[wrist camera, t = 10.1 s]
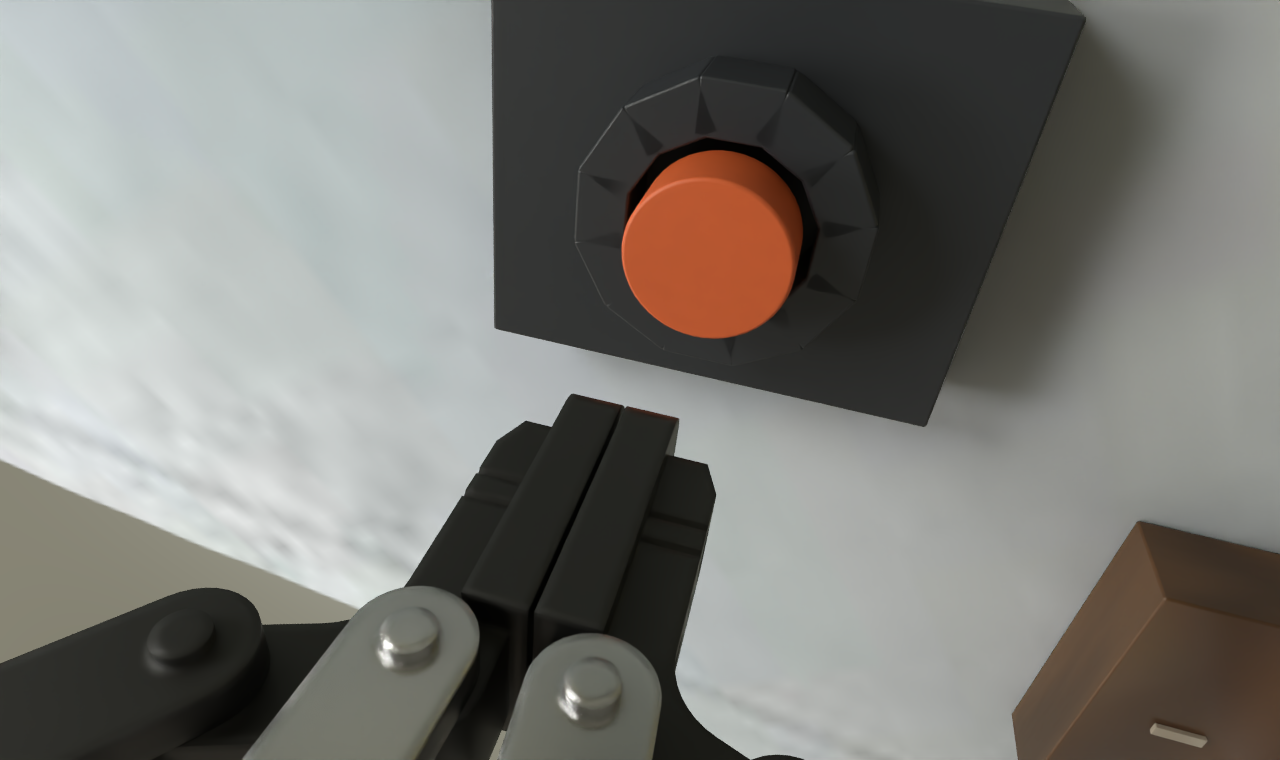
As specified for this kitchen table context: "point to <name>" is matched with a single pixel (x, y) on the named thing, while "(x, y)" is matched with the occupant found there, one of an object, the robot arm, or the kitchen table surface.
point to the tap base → (1164, 658)
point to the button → (714, 245)
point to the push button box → (791, 146)
